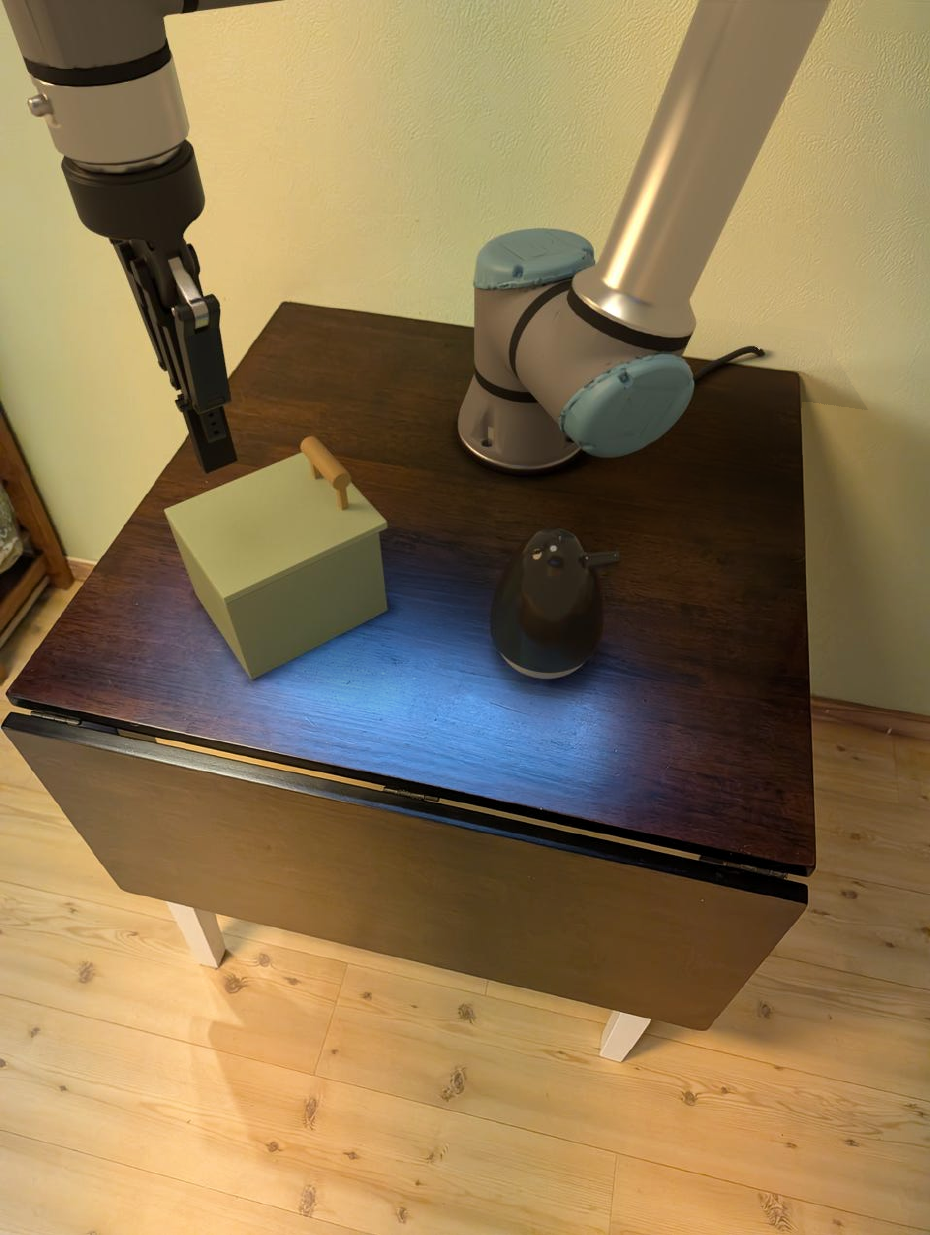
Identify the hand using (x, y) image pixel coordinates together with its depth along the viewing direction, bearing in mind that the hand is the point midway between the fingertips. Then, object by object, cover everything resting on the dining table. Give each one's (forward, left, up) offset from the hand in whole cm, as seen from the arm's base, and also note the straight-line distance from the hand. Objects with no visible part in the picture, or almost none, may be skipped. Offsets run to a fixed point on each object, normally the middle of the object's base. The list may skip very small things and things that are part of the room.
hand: (218, 462), depth 67 cm
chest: (-3, -1, -19) cm, 20 cm away
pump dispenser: (-27, +7, -20) cm, 34 cm away
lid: (-3, -2, -9) cm, 9 cm away
